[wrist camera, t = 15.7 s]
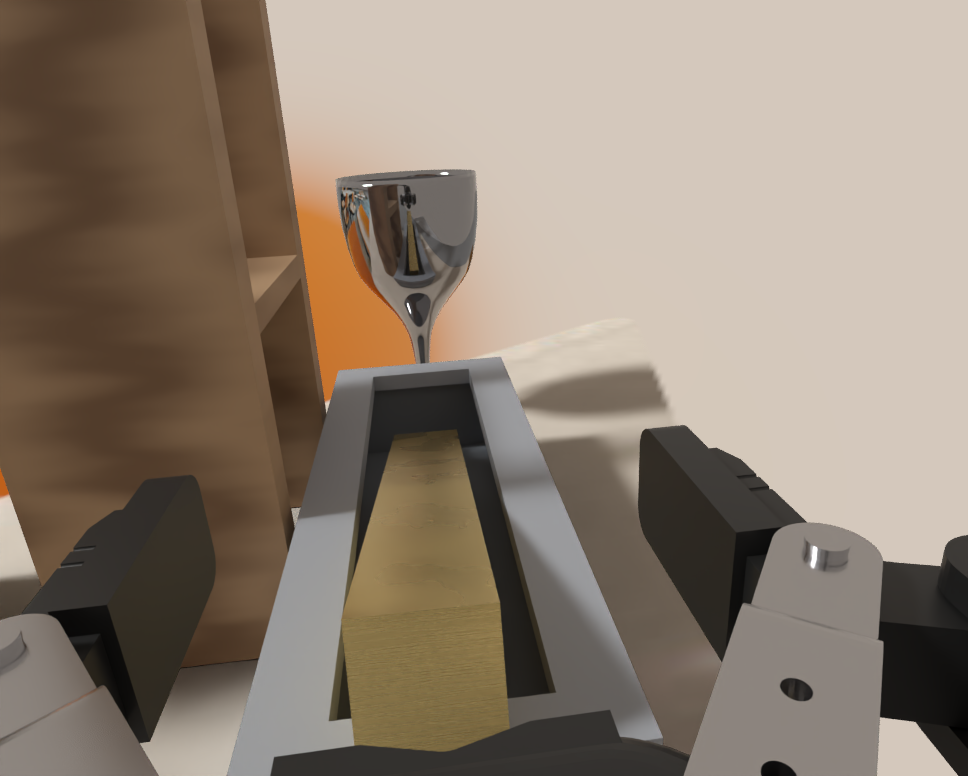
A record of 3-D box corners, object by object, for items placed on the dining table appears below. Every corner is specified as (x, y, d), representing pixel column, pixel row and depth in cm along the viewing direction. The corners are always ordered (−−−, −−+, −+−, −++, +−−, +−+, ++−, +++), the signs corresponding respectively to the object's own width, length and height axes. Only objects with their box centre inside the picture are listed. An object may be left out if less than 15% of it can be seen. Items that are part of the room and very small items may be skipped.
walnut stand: (74, 680, 24) (-411, -710, 12) (180, 504, 35) (-19, -305, 23) (306, 652, 24) (58, -689, 13) (337, 488, 35) (220, -305, 24)
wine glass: (512, 407, 44) (503, 169, 39) (433, 454, 38) (409, 181, 33) (422, 386, 49) (403, 169, 43) (339, 425, 43) (305, 181, 38)
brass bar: (357, 768, 13) (341, 619, 13) (400, 495, 33) (394, 434, 32) (511, 748, 13) (499, 601, 13) (461, 489, 33) (456, 429, 33)
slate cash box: (268, 973, 15) (220, 797, 13) (351, 461, 38) (338, 370, 36) (652, 913, 16) (663, 737, 14) (504, 446, 39) (500, 356, 37)
